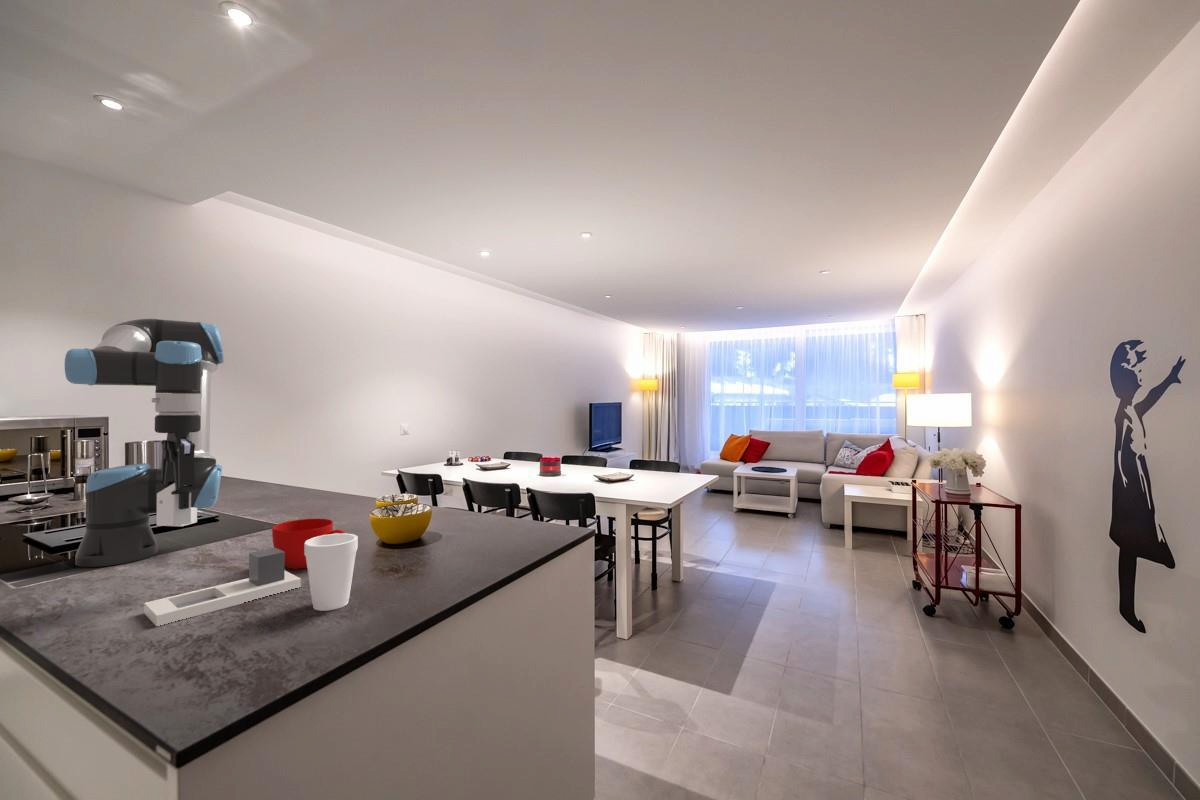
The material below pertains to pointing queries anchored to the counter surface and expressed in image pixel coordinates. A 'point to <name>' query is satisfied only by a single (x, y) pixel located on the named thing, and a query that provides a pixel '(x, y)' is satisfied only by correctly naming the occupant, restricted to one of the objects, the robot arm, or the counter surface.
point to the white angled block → (169, 508)
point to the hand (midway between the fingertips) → (176, 521)
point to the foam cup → (330, 569)
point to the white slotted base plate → (228, 590)
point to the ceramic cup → (299, 538)
